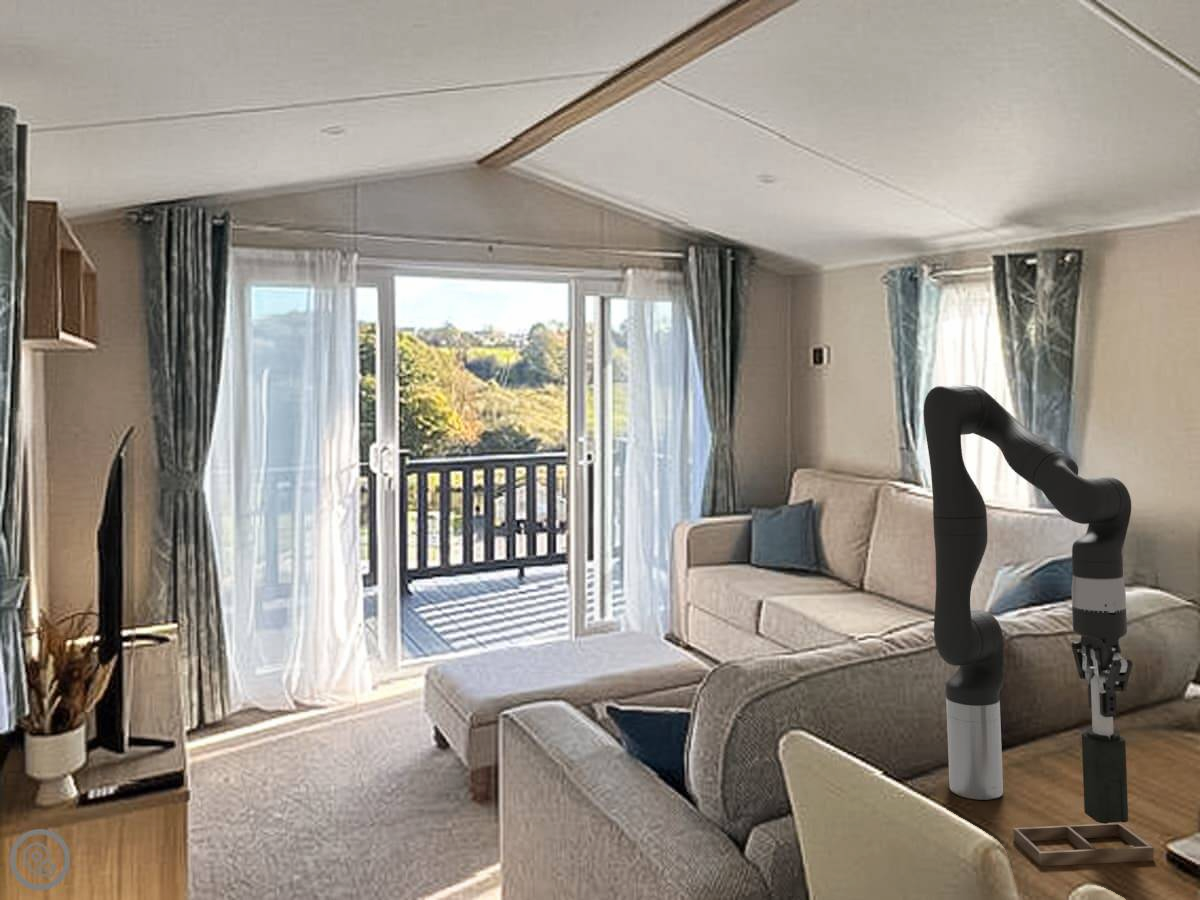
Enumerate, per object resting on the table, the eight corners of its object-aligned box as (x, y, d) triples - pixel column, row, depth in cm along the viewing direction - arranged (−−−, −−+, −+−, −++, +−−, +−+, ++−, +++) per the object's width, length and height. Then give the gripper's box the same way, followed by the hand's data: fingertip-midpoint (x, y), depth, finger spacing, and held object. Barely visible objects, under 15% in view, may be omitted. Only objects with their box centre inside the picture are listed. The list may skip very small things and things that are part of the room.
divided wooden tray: (1040, 866, 141) (1040, 851, 141) (1013, 840, 150) (1013, 826, 150) (1154, 860, 141) (1153, 845, 141) (1120, 834, 150) (1119, 820, 150)
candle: (1112, 808, 148) (1106, 654, 148) (1131, 822, 143) (1125, 662, 143) (1081, 810, 148) (1075, 656, 148) (1099, 824, 143) (1093, 664, 143)
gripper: (1052, 597, 152) (1056, 701, 152) (1099, 614, 138) (1103, 728, 138) (1097, 595, 152) (1101, 699, 152) (1149, 611, 138) (1153, 726, 138)
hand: (1102, 712), depth 145 cm, fingers closed on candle, 2 cm apart
